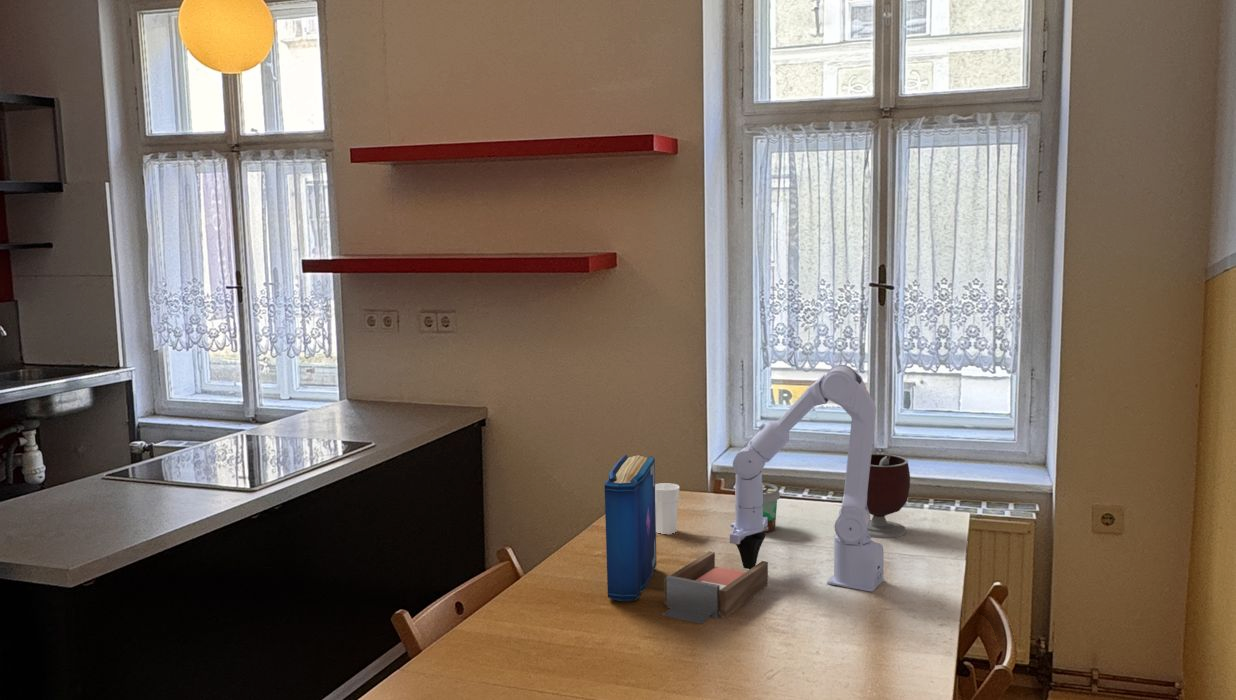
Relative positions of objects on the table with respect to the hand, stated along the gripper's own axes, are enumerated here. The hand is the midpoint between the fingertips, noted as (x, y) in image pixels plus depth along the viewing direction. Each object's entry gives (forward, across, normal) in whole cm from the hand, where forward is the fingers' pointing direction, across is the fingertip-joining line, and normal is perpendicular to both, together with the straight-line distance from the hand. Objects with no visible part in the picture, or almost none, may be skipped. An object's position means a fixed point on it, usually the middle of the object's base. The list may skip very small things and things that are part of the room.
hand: (749, 567), depth 209 cm
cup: (+1, -16, -30) cm, 34 cm away
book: (+1, +19, -18) cm, 26 cm away
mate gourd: (+1, -41, +15) cm, 44 cm away
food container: (+1, -30, -9) cm, 32 cm away
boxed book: (+1, +15, +1) cm, 15 cm away
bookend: (+1, +27, 0) cm, 27 cm away
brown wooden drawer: (+1, +15, 0) cm, 15 cm away
